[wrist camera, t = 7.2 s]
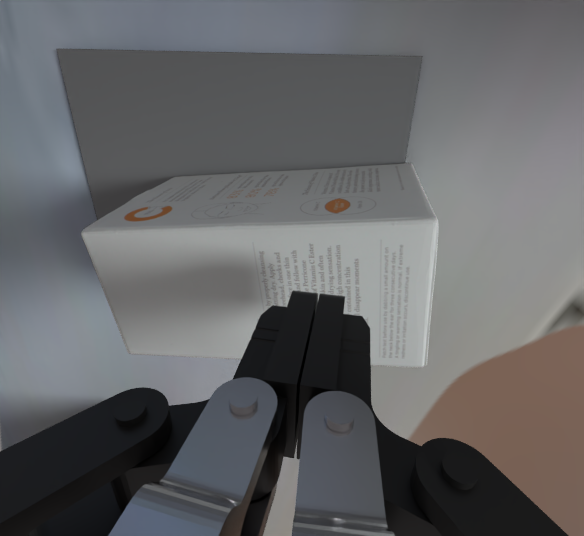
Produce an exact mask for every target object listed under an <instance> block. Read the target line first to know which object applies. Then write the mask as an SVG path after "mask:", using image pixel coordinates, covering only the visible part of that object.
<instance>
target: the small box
mask: <svg viewBox="0 0 584 536" xmlns="http://www.w3.org/2000/svg"><path fill="white" fill-rule="evenodd" d="M438 226H439V223H438V219H437V217H436V215H435V213H434V211H433V209H432V207H431V205H430V202H429V200H428V198H427V196H426V194H425V192H424V189H423V187H422V185H421V183H420V180H419V178H418V176H417V174H416V172H415V169H414V167H413V164H412V163H403V164H388V165H372V166H356V167H343V168H328V169H311V170H291V171H267V172H249V173H231V174H214V175H196V176H180V177H173V178H171V179H170V180H168V181H166V182H164V183H162V184H160V185H159V186H157V187H155V188H153V189H151V190H148V191H145V192H144V193H142V194H140V195H138V196H136V197H134V198H133V199H131V200H130V201H128V202H127V203H126V204H124V205H122V206H121V207H119V208H117V209H116V210H114V211H112V212H110V213H109V214H107V215H105V216H104V217H102V218H100V219H99V220H97V221H95V222H94V223H92V224H91V225H89V226H87V227H86V228H84V230H83V231H82V232H81V236H82V238H83V241H84V243H85V245H86V248H87V250H88V253H89V255H90V258H91V260H92V263H93V265H94V268H95V270H96V273H97V275H98V278H99V280H100V283H101V285H102V288H103V291H104V293H105V296H106V298H107V301H108V303H109V306H110V308H111V311H112V313H113V316H114V318H115V321H116V323H117V326H118V328H119V331H120V334H121V336H122V339H123V341H124V344H125V346H126V349H127V351H128V353H129V354H140V355H160V356H180V357H203V358H224V359H242V357H243V355H244V352H245V350H246V348H247V346H248V343H249V341H250V340H251V336H252V334H253V332H254V330H255V328H256V325H257V323H258V320H259V318H260V316H261V314H263V313H264V312H265V311H266V310H267V309H269V308H270V307H271V306H272V305H274V306H283V307H287V305H288V302H289V299H290V296H291V293H292V291H293V290H294V291H303V292H312V293H318V299H319V295H320V293H321V294H330V295H339V296H345V303H344V313H343V314H349V315H357V316H363V318H364V319H365V321H366V323H367V324H368V326H369V327H370V358H371V366H390V367H411V368H422V367H423V366H426V365H427V357H428V345H429V332H430V319H431V309H432V299H433V289H434V280H435V270H436V259H437V244H438Z"/></svg>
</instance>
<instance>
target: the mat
mask: <svg viewBox="0 0 584 536" xmlns="http://www.w3.org/2000/svg"><path fill="white" fill-rule="evenodd" d="M57 53H58V58H59V62H60V66H61V70H62V74H63V78H64V83H65V87H66V91H67V95H68V99H69V104H70V108H71V112H72V116H73V120H74V125H75V129H76V133H77V137H78V141H79V145H80V150H81V154H82V158H83V162H84V166H85V171H86V175H87V179H88V183H89V187H90V192H91V196H92V200H93V204H94V208H95V212H96V217H97V220H99V219H100V218H102V217H104V216H105V215H107V214H109V213H110V212H112V211H114V210H116V209H117V208H119V207H121V206H122V205H124V204H126V203H127V202H128V201H130V200H131V199H133V198H134V197H136V196H138V195H140V194H142V193H144V192H145V191H148V190H151V189H153V188H155V187H157V186H159V185H160V184H162V183H164V182H166V181H168V180H170V179H171V178H173V177H180V176H196V175H214V174H231V173H249V172H267V171H291V170H311V169H328V168H343V167H356V166H372V165H388V164H403V163H405V159H406V153H407V147H408V141H409V135H410V129H411V123H412V117H413V111H414V105H415V99H416V93H417V87H418V81H419V75H420V69H421V63H422V57H423V56H379V55H332V54H285V53H238V52H191V51H144V50H97V49H57Z"/></svg>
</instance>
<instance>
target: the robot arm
mask: <svg viewBox="0 0 584 536" xmlns="http://www.w3.org/2000/svg"><path fill="white" fill-rule="evenodd" d="M344 303H345V296H339V295H330V294H321V293H320V295H319V299H318V293H312V292H303V291H294V290H293V291H292V293H291V296H290V299H289V302H288V305H287V307H283V306H274V305H272V306H271V307H270V308H269V309H267V310H266V311H265V312H264V313H263V314H261V316H260V318H259V320H258V323H257V325H256V328H255V330H254V332H253V334H252V336H251V340H250V341H249V343H248V346H247V348H246V350H245V352H244V355H243V357H242V359H241V362H240V364H239V366H238V368H237V371H236V373H235V375H234V378H233V380H230V381H228V382H226V383H224V384H222V385H221V386H220V387H218V388H217V389H216V390H215V392H214V393H213V395H212V396H211V398H210V399H208V400H205V401H202V402H197V403H190V404H181V405H172V406H169V405H168V401H167V399H166V397H165V396H164V395H163V394H162V393H161V392H159V391H157V390H155V389H151V388H135V389H130V390H127V391H124V392H121V393H119V394H117V395H115V396H113V397H111V398H109V399H107V400H105V401H103V402H101V403H99V404H97V405H95V406H92V407H90V408H88V409H86V410H84V411H82V412H80V413H78V414H76V415H74V416H72V417H70V418H68V419H66V420H64V421H62V422H60V423H58V424H56V425H54V426H52V427H50V428H48V429H45V430H43V431H41V432H39V433H37V434H35V435H33V436H31V437H29V438H27V439H25V440H23V441H21V442H19V443H17V444H15V445H13V446H11V447H9V448H7V449H5V450H3V451H1V452H0V536H263V533H264V530H265V527H266V523H267V520H268V516H269V513H270V510H271V506H272V503H273V500H274V496H275V493H276V488H277V481H278V478H279V475H280V470H281V465H282V461H283V456H285V457H290V458H294V454H295V449H296V444H297V459H300V463H299V474H298V484H297V495H296V506H295V516H294V520H293V529H292V536H568V535H567V534H566V533H565V532H564V531H563V530H562V529H561V528H560V527H559V526H558V525H557V524H555V523H554V522H553V521H552V520H551V519H550V518H549V517H548V516H547V515H546V514H545V513H544V512H543V511H542V510H541V509H539V507H538V506H537V505H535V504H534V503H533V502H532V501H531V500H530V499H529V498H528V497H527V496H526V495H525V494H524V493H523V492H522V491H520V489H519V488H517V487H516V486H515V485H514V484H513V483H512V482H511V481H510V480H509V479H508V478H507V477H506V476H505V475H504V474H503V473H501V471H500V470H498V469H497V468H496V467H495V466H494V465H493V464H492V463H491V462H490V461H489V460H488V459H487V458H486V457H485V456H484V455H482V454H481V453H480V452H479V451H477V450H476V449H474V448H473V447H471V446H469V445H467V444H465V443H463V442H461V441H458V440H454V439H449V438H437V439H432V440H430V441H428V442H426V443H425V444H423V445H422V446H419V445H417V444H415V443H413V442H411V441H409V440H406V439H404V438H402V437H400V436H398V435H396V434H394V433H393V432H391V431H390V430H389V429H387V428H386V427H385V426H384V425H383V424H382V423H381V422H380V421H379V419H378V418H377V416H376V415H375V413H374V411H373V408H372V405H371V358H370V327H369V326H368V324H367V323H366V321H365V319H364V318H363V316H357V315H349V314H343V313H344ZM297 439H298V441H297Z"/></svg>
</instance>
